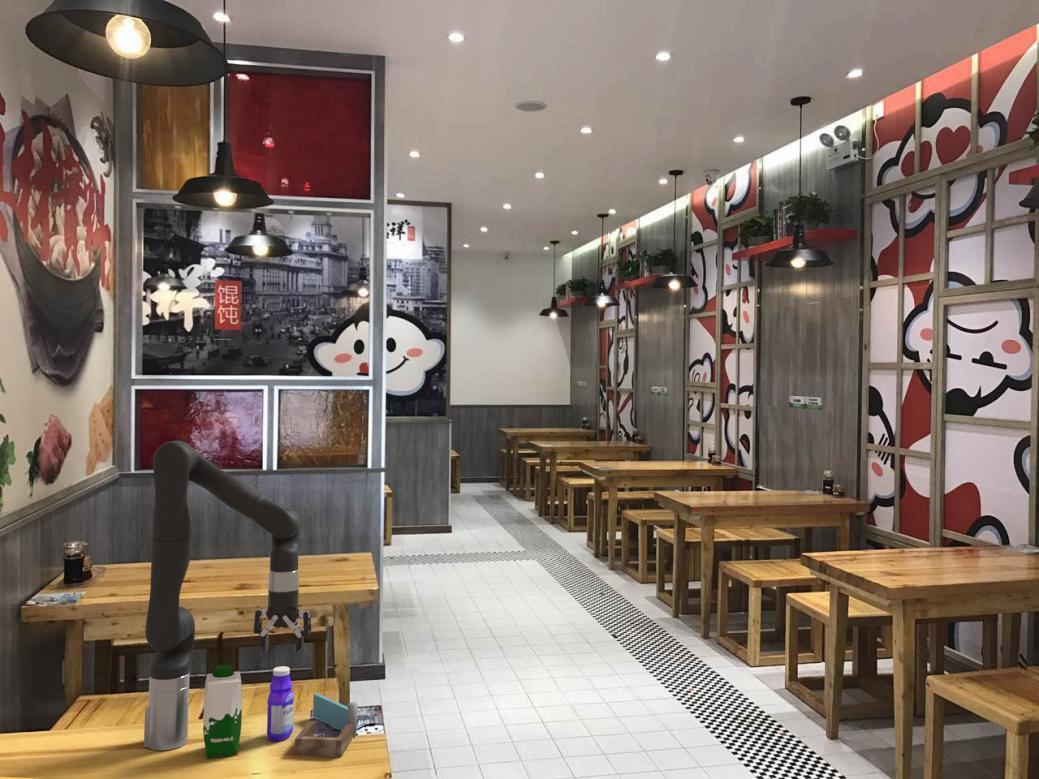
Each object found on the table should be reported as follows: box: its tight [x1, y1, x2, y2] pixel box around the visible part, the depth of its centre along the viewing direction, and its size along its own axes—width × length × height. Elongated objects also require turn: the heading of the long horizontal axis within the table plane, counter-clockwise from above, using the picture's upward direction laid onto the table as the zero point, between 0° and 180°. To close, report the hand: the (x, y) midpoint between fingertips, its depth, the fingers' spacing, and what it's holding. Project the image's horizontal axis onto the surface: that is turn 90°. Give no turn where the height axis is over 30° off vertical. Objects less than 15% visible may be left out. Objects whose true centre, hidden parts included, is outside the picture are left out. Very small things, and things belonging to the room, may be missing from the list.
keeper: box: [312, 692, 358, 738], centre depth 217 cm, size 18×2×8 cm, turn 47°
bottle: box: [266, 666, 295, 742], centre depth 210 cm, size 7×6×17 cm
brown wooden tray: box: [294, 720, 354, 758], centre depth 204 cm, size 12×11×4 cm
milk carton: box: [202, 663, 243, 760], centre depth 201 cm, size 9×9×20 cm
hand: (282, 650), depth 210 cm, fingers open, 8 cm apart
